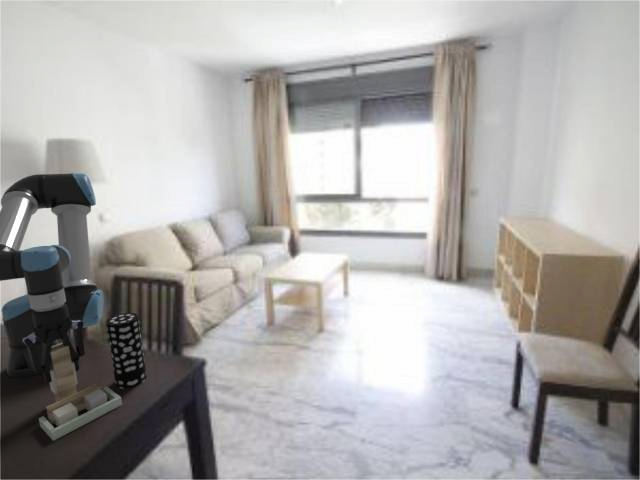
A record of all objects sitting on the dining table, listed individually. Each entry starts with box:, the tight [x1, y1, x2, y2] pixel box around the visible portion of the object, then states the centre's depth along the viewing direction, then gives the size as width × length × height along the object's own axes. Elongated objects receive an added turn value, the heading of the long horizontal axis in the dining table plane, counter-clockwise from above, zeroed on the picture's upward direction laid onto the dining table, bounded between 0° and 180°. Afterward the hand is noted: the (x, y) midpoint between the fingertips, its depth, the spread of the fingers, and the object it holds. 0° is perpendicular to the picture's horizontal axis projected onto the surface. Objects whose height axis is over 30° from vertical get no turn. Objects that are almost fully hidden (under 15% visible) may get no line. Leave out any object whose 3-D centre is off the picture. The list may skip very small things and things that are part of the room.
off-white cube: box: [52, 403, 79, 428], centre depth 92 cm, size 4×4×4 cm
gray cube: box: [84, 388, 109, 412], centre depth 98 cm, size 4×4×4 cm
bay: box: [38, 385, 123, 442], centre depth 95 cm, size 8×16×2 cm, turn 143°
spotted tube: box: [105, 312, 148, 389], centre depth 108 cm, size 8×8×20 cm
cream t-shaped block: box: [45, 342, 103, 426], centre depth 98 cm, size 10×12×16 cm
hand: (64, 386), depth 100 cm, fingers closed on cream t-shaped block, 4 cm apart
